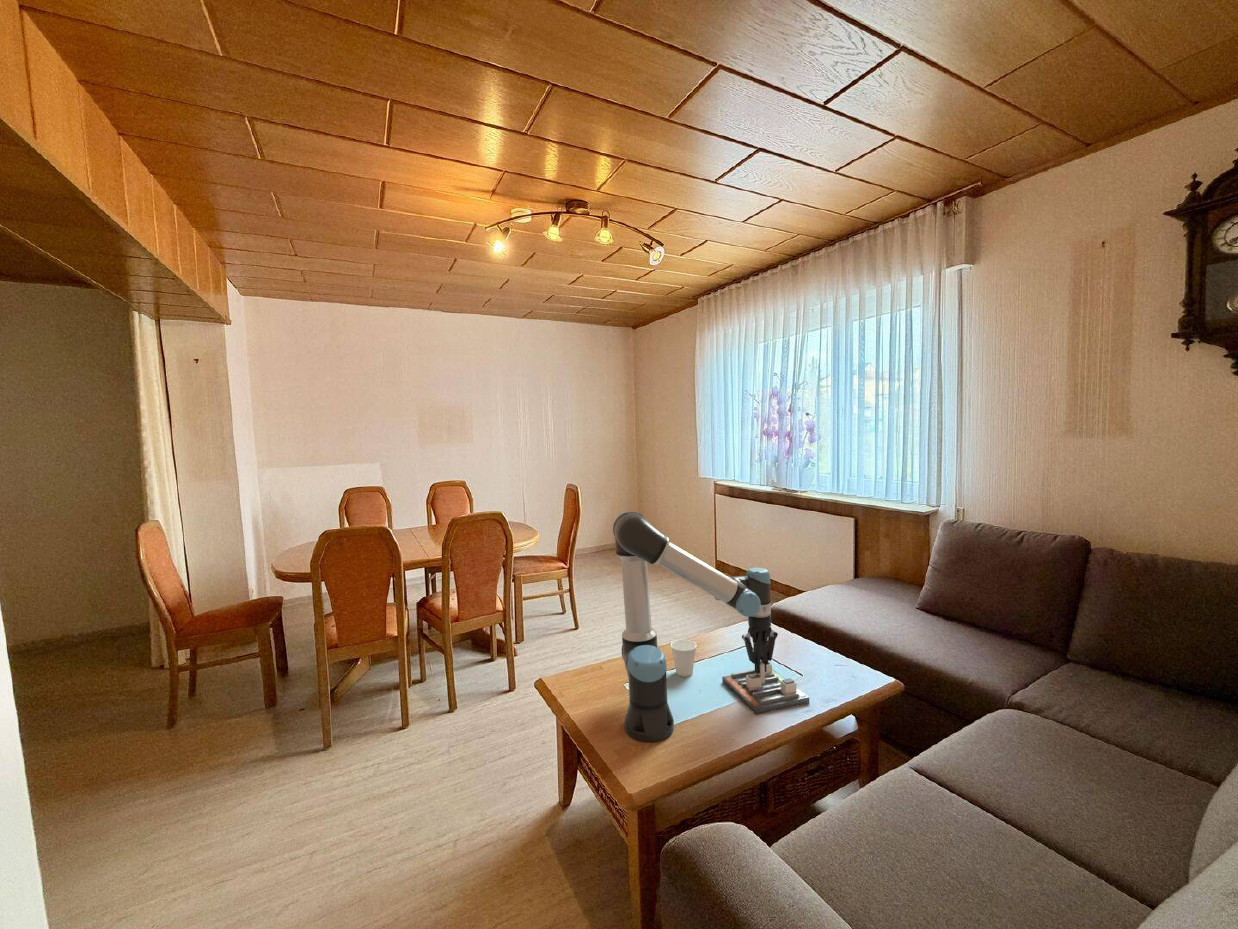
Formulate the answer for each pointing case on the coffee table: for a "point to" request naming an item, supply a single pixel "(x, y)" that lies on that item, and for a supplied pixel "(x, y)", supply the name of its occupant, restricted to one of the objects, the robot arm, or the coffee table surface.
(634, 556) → the robot arm
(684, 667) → the cup
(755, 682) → the block
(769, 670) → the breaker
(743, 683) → the panel
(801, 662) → the coffee table surface
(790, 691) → the block
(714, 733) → the coffee table surface
